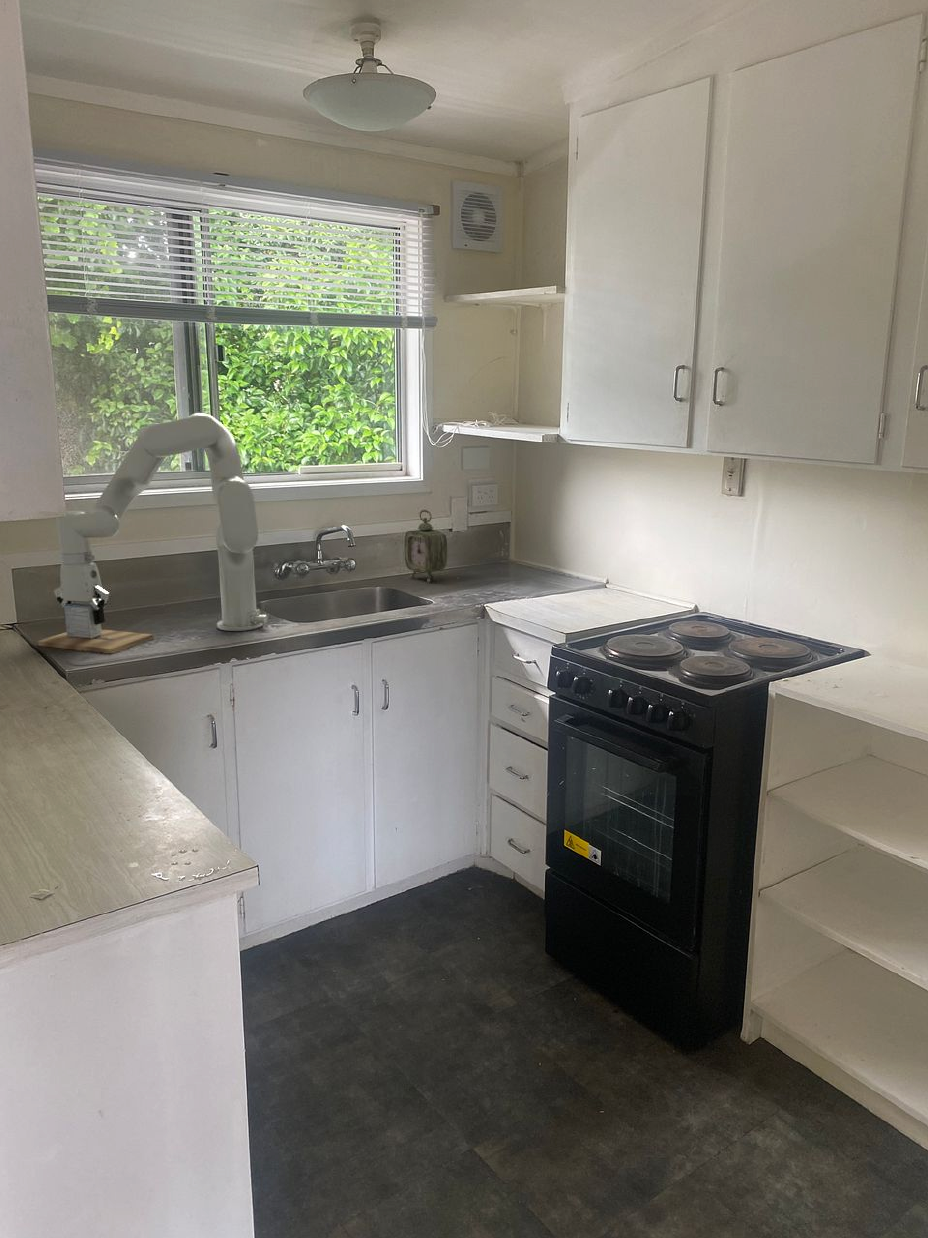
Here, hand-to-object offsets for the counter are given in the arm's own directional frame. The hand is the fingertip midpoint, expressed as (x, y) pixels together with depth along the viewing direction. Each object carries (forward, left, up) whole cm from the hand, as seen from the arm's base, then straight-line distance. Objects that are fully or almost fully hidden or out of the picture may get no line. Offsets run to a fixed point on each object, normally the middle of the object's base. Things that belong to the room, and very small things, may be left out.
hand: (84, 622), depth 246 cm
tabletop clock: (-54, -110, -5) cm, 122 cm away
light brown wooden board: (-4, 0, -5) cm, 6 cm away
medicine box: (0, 0, -4) cm, 4 cm away
